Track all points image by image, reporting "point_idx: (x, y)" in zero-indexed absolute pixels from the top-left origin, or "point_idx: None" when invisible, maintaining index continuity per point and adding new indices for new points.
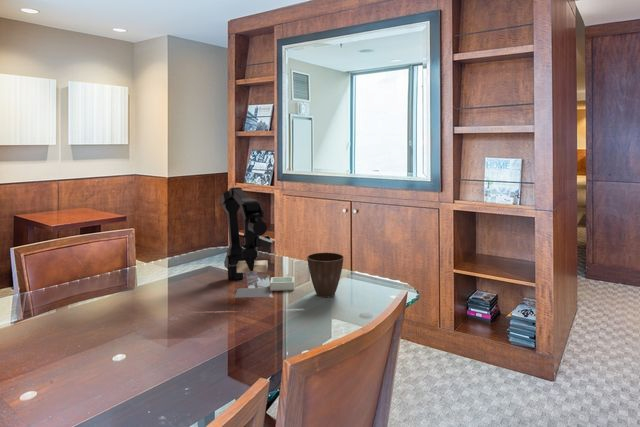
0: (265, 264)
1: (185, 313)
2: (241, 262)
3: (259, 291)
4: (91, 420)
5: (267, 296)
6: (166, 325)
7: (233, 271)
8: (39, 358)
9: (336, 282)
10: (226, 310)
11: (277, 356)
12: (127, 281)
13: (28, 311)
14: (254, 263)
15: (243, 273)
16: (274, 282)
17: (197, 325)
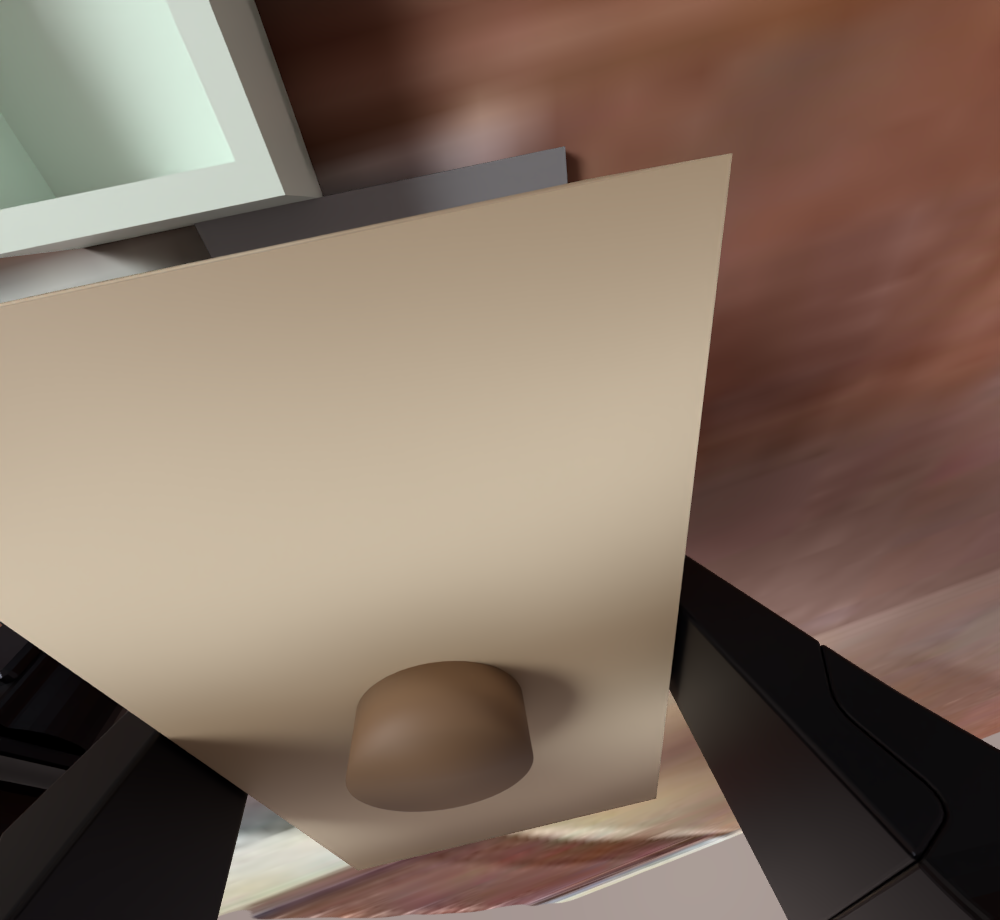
0: (669, 235)
1: (784, 606)
2: (449, 823)
3: None
4: None
5: (553, 176)
6: (906, 605)
7: (109, 712)
8: (987, 717)
9: None
10: (808, 448)
11: None
12: (381, 867)
13: (660, 852)
14: (509, 654)
15: (5, 639)
16: (234, 100)
17: (981, 502)
